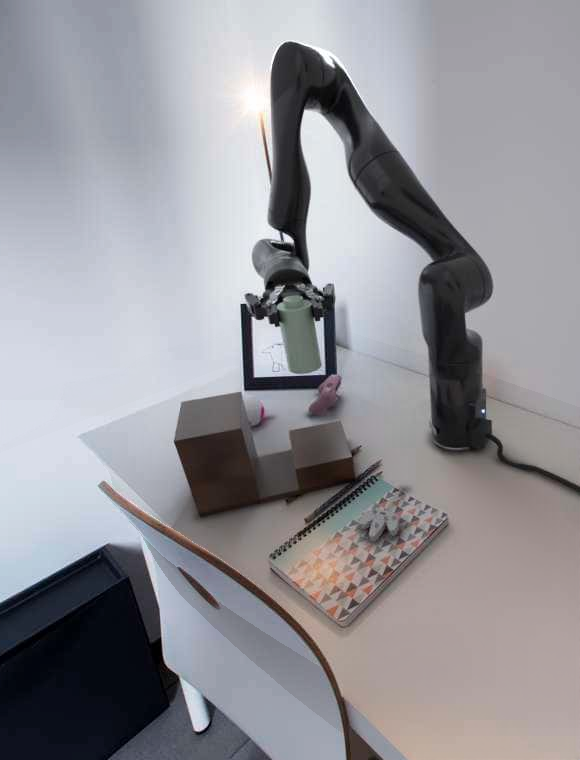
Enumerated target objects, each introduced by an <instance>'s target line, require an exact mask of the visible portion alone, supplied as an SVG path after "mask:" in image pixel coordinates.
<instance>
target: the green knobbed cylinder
mask: <svg viewBox="0 0 580 760" xmlns="http://www.w3.org/2000/svg"><path fill="white" fill-rule="evenodd" d="M276 308H277V313H278V318H279V323H280V327H279V328H280V334H281V339H282V343H283V349H284V354H285V359H286V363H287V368H288V371H289V372H290V373H292V374H296V375H305V374H310V373H314V372H316V371H318V370H319V369H321V367H322V358H321V352H320V346H319V341H318V334H317V328H316V322H315V319H314V315H313V308H312V303H311V302H310V301H308V300H303V297H302V296H299V295H292V296H287V297H285V298H284V299H283V302H282V303H280V304H278V305H277V307H276Z"/></svg>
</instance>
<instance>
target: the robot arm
mask: <svg viewBox="0 0 580 760" xmlns="http://www.w3.org/2000/svg"><path fill="white" fill-rule="evenodd" d="M269 77H270V78H269V92H270V96H269V97H270V123H271V126H270V127H271V129H270V130H271V146H272V147H271V152H272V167H271V181H270V182H271V183H270V188H269V189H270V190H269V197H268V206H267V215H266V220H267V223H268V225H269V226H270V227H271V228H272V229H274V230H276V231H278V232H279V233H282V234H284V235H287V236H288V237H290V238H291V240H292V241H293V242H290V241H284V240H278V239H274V238H268V237H267V238H261V239H259V240H257V241H256V242H255V244H254V246H253V248H252V252H251V261H252V266H253V269H254V271H255V272H256V274H257V275H258V276H259V277H260V278H262V279H263V286H264V291H263V292H262V295H258V294H254V293H253V292H252V293H251V292H247V293H244V300H245V304H246V309H247V311H248V313H249V314H250V315H251V316H253V319H255V320H257V321H262V320H263V321H264V319H265V318H267V320H268V324H269V325H274V328H280V323H279V318H278V313H277V308H276V307H277V305H278V304H280V303H282V302H283V299H284V298H285V297H287V296H292V295H299V296H302V297H303V300H308V301H310V302H311V303H312V308H313V315H314V321H315V323H316V322H321V319H322V318H324V317H325V313H324V311H326V312H330V311H331V312H332V311H333V310H334V308H335V303H336V298H337V297H336V291H335V290H336V289H335V284H334V283H331V282H330V283H329V282H328V283H326V285H325V286H322V288H318V287H317V286H316V285H314V284H313V282H312V280H311V277H310V275H309V270H310V257H309V255H310V254H309V249H308V242H307V224H308V223H307V222H308V217H309V211H310V205H311V199H312V181H311V177H310V171H309V169H308V165H307V161H306V159H305V155H304V151H303V146H302V123H303V117H304V113H305V111H308V112H314V113H315V112H316V113H318V114H320V115H321V116H322V117H323V118H324V119H325V120H326V121H327V122H328V124H329V125H330V126H331V127H332V129H333V130H334V132H335V133H336V134H337V136H338V138H339V139H340V141H341V143H342V145H343V150H344V160H345V167H346V173H347V175H348V178H349V180H350V182H351V185H352V186H353V187H354V189H355V190H356V192H357V194H359V197H361V199H362V201H363V202H364V203H365V204H366V206H367V208H368V209H369V210H370V211H371V212H372V213H373V215H374V216H375V217H377V218H378V219H379V220H380V221H381V222H383V223H384V224H386V225H387V226H388V227H390V228H392V229H394V230H395V231H397V232H399V233H400V234H402V235H403V236H405V237H407V238H408V239H410V241H413V242H414V243H415V244H417V245H418V246H419V247H420V248H421V249H422V250H423V251H424V252H425V253H426V254H427V255H428V257H429V258H430V260H432V261H431V262H429V263H427V264H426V265H425V266H424V267H423V268H422V269H421V271H420V273H419V276H418V280H417V282H418V283H417V297H418V300H417V301H418V306H419V316H420V325H421V332H422V336H423V340H424V342H425V344H426V347H427V359H428V361H427V362H428V379H429V381H428V382H429V397H430V416H431V417H430V418H431V420H429V421H428V422H429V427H430V429H431V441H432V442H433V444H434V445H435V446H436V447H438V448H439V449H442V450H444V451H449V452H465V451H477V449H483V450H484V449H485V448H486V445H487V444H488V442H489V441H492V442H493V443H494V444H495V445H496V446H497V450H496V455H497V457H498V459H499V460H500V461H501V462H502V463H503V464H505V465H506V466H508V467H509V466H510V467H513V468H516V469H520V470H525V471H530V472H531V471H532V472H534V473H537V474H539V475H541V476H545V477H546V478H548V479H551V480H553V481H555V482H557V483H559V484H560V485H561V484H562V485H564V486H566V487H568V488H570V489H572V490H574V491H575V492H577V493H579V494H580V485H578V484H576V483H573V482H572V481H569V480H568V479H566V478H563V477H561V476H559V475H557V474H555V473H553V472H551V471H548V470H546V469H544V468H542V467H538V466H536V465H532V464H526V463H518V462H514V461H511V460H509V459H508V458H506V457H505V456H504V454H503V452H504V451H503V450H504V445H503V443H502V442H501V440H500V439H499V438H498V437H497V436H495V435H494V434H493V420H492V419H487V389H486V388H483V359H484V358H483V357H484V355H483V349H484V348H483V346H484V345H483V344H484V343H483V338H482V336H481V334H479V333H478V332H477V331H475V330H473V329H470V328H467V323H466V322H467V321H466V314H467V313H470V312H471V311H474V310H475V309H478V308H480V307H483V306H484V305H486V303H487V302H489V301H490V299H491V297H492V295H493V292H494V280H493V277H492V274H491V271H490V269H489V267H488V266H487V263H486V262H485V260H484V259H483V258H482V257H481V255H480V254H479V253H478V251H477V250H476V249H475V248H474V247H473V246H472V245H471V244H470V242H468V240H467V239H466V238H465V237H464V236H463V234H462V233H461V232H460V231H459V230H458V229H457V228H456V227H455V226H454V225H453V223H452V222H451V221H450V220H449V218H448V217H447V216H446V215H445V214H444V212H443V210H442V209H441V208H440V207H439V206H438V203H437V202H436V201H435V200H434V199H433V197H432V196H431V195H430V193H429V192H428V190H426V188H425V187H424V185H423V183H421V181H420V179H418V177H417V175H416V174H415V172H414V170H413V169H412V167H411V166H410V164H409V163H408V162H407V161H406V159H405V158H404V156H403V155H402V153H401V152H400V151H399V150H398V148H397V147H396V146H395V145H394V143H393V142H392V141H391V139H390V137H388V135H387V133H386V132H385V131H384V130H383V128H382V126H381V125H380V123H379V122H378V121H377V119H376V118H375V117H374V115H373V114H372V113H371V111H370V110H369V108H368V107H367V105H366V103H365V101H364V99H363V97H362V96H361V95H360V93H359V91H358V89H357V88H356V86H355V84H354V82H353V80H352V79H351V77H350V75H349V74H348V72H347V70H346V69H345V66H344V65H343V64H342V62H341V61H340V60H339V59H338V58H337V57H336V56H335V55H334V54H332V53H331V52H330V51H328V50H325V49H323V48H319V47H317V46H314V45H313V46H312V45H309V44H306V43H302V42H298V41H294V40H286V41H284V42H282V43H281V44H280V45H278V47H277V48H276V49H275V52H274V53H273V56H272V60H271V65H270V75H269Z"/></svg>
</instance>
